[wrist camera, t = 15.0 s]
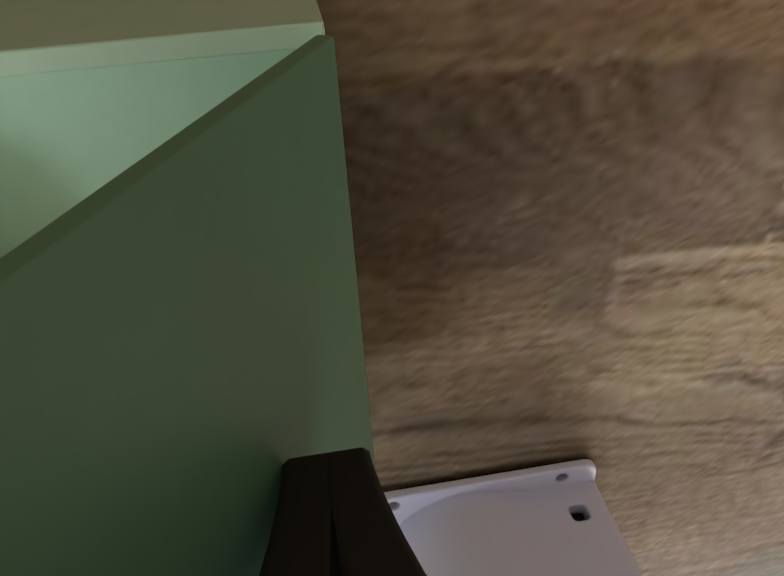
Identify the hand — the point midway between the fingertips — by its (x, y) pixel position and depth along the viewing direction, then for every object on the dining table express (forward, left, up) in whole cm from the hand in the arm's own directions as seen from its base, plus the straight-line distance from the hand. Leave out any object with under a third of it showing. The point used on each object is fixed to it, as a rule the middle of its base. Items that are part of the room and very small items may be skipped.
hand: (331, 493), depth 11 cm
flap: (+1, 0, 0) cm, 1 cm away
